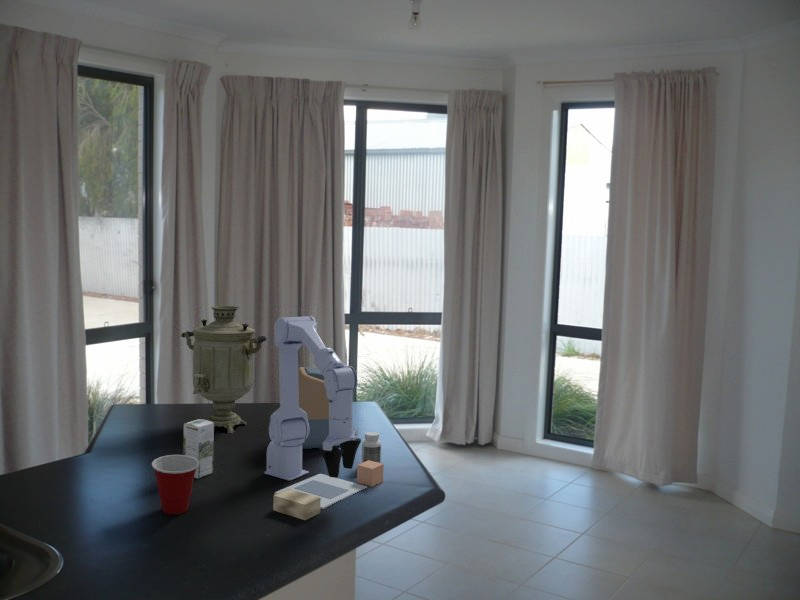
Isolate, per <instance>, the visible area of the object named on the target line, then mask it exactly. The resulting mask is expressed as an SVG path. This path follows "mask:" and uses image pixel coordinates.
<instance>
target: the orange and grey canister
mask: <svg viewBox="0 0 800 600" xmlns="http://www.w3.org/2000/svg"><path fill="white" fill-rule="evenodd" d="M324 379H325V378H324V376H323V375H322V374H321V372H320V371H319V369H318V368H317V367H311V366H305V367H303V366H300V367H298V387H299V408H301V409H302V410H303V411H305V412H306V413H307V419H308V423H309V429H310V430H309V435H308V437H307V438H306V439H305V442H304V443H302V450H313V449H312V448H318V449H320V448H321V447H323V442H324V441H325V440H326V438H327V436H328V435H329V399H328V398H327V396H326V388H325V385H324ZM338 446H339V447H340V445H337V446H336V447H338Z"/></svg>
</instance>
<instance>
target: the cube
mask: <svg viewBox="0 0 800 600" xmlns="http://www.w3.org/2000/svg"><path fill="white" fill-rule="evenodd" d="M356 469H357V472H356V483H357V482H358V483H357V484H360V483H362V484H361V485H363V484H366V485H365V486H367V485H369V486H368V487H371V486H373V487H375V486H377V485H379V484H381V483H383V482H384V463H378V462H374V461H370V460H368V461H365V462H363V463H362V462H361V463H359V464H357V467H356ZM376 484H377V485H376ZM374 485H375V486H374Z"/></svg>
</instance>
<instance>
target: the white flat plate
mask: <svg viewBox="0 0 800 600" xmlns="http://www.w3.org/2000/svg"><path fill="white" fill-rule="evenodd" d="M365 488H366V489H368V486H367V485H363V484H360V483H357V482H352V481H348V480H346V479H342V478H339V477H337V478H334V477H329V475H327V474H323V473H317V474H315V475H313V476H310V477H308V478H306V479H304V480H301V481H299V482H296V483H294V484H292V485H289V486H287V487H284V488H282V489H278V490H277V491H275V492H274V495H275V494H278V493H280V492H282V491H285V490H287V489H292V490H295V491H299V492H302V493H306V494H309V495H313V496H316V497H319V498H321V502H320V509H322V510H324V509H326V508H328V507H330V506H332V504H333V505H334V503H335V504H336V502H337V503H338V501H339V502H341V501H343V500H345V499H347V498H349V497H351V496H353V494H354V495H355V493H356V494H357V492H358V493H359V491H360V492H362V491H364V490H366V489H365ZM363 489H364V490H363ZM361 490H362V491H361ZM340 500H341V501H340Z"/></svg>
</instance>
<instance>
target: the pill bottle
mask: <svg viewBox="0 0 800 600" xmlns="http://www.w3.org/2000/svg"><path fill="white" fill-rule="evenodd" d="M379 438H380V433H379V432H376V431H367V432H364V440H362V441H361V463H363V462H365V461H368V460H370V461H374V462H378V463H381V457H382V455H381V454H382V453H381V452H382V442H381V441H380V440H379Z"/></svg>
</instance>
